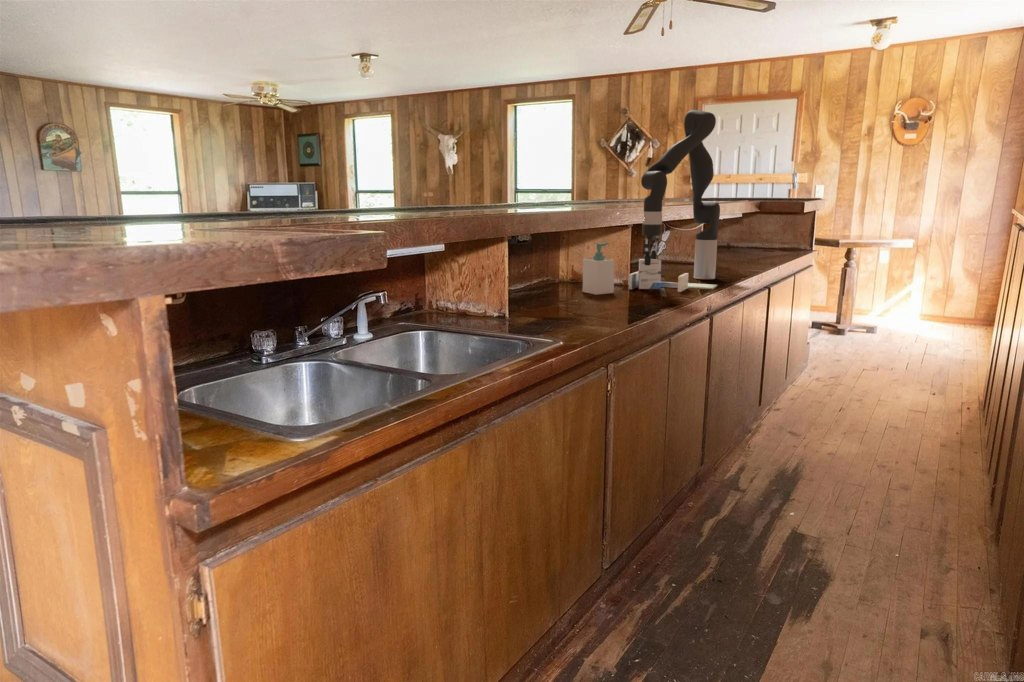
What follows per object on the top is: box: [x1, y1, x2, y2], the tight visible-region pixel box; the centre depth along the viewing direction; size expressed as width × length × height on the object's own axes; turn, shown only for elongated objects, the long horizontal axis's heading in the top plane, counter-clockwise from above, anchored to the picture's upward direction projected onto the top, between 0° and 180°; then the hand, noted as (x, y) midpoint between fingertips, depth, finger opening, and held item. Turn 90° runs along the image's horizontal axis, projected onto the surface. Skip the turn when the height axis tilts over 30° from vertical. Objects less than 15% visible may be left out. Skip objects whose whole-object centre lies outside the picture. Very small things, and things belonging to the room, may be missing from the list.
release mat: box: [687, 282, 718, 290], centre depth 279 cm, size 10×12×1 cm
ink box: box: [637, 258, 662, 290], centre depth 274 cm, size 8×5×12 cm, turn 84°
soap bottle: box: [582, 242, 615, 296], centre depth 263 cm, size 9×9×19 cm
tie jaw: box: [677, 272, 689, 293], centre depth 268 cm, size 12×1×6 cm, turn 153°
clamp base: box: [628, 270, 678, 290], centre depth 274 cm, size 14×19×6 cm
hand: (650, 264), depth 273 cm, fingers open, 8 cm apart
